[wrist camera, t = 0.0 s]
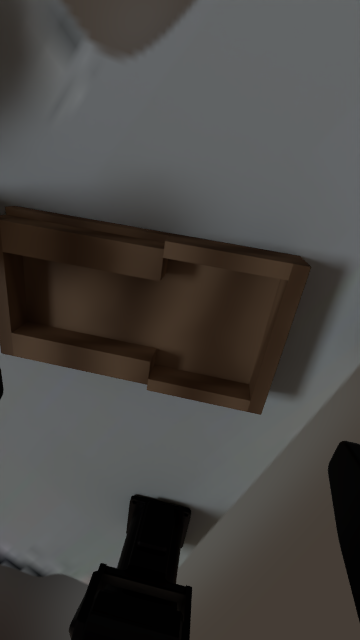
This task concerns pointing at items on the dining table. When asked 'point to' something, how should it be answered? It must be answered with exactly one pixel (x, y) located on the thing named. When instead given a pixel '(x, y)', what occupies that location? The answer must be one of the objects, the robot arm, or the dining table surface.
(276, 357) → the tray
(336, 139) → the dining table surface
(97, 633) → the robot arm
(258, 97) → the dining table surface
